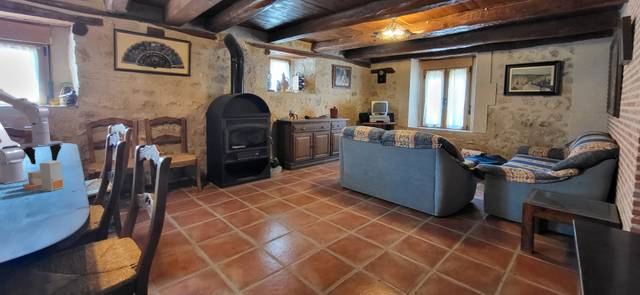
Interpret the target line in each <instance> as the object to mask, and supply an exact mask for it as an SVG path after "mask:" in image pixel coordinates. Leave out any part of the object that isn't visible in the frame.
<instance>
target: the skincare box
mask: <svg viewBox="0 0 640 295" xmlns="http://www.w3.org/2000/svg"><path fill="white" fill-rule="evenodd" d="M39 171H40V173H41V183H42V189H41V190H42V192H53V191H56V190H60V189H63V188H64V186H65V185H64V177H63V175H64V174H63V166H62V160H57V161H52V160H49V161H43V162H40V163H39Z"/></svg>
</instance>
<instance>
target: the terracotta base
mask: <svg viewBox="0 0 640 295" xmlns="http://www.w3.org/2000/svg"><path fill="white" fill-rule="evenodd" d="M22 188H23V189H24V190H27V191H31V192H33V191H37V190H42V184H37V185H32V184H29V182H28V183H23V184H22Z"/></svg>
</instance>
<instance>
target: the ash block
mask: <svg viewBox="0 0 640 295" xmlns="http://www.w3.org/2000/svg"><path fill="white" fill-rule="evenodd" d="M27 179H28V180H27V181H28V183H29V184H32V185H37V184H42V183H41V173H40V170H35V171H34V170H33V171H28V172H27Z"/></svg>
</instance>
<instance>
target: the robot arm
mask: <svg viewBox="0 0 640 295" xmlns="http://www.w3.org/2000/svg"><path fill="white" fill-rule="evenodd" d="M0 102H3V103H5V104H8V105H11V106H12V108H13V109H14V110H15V111H18V112H21V113H22V114H24V115H26V117H27V119H28V122H29V123H30V124H31V125H30V127H31V134H32V135H31V136H32V142H29V143H28V142H27V143H18V142H16V141H14V140H12V139H11V137H10V136H9V134H8V132H7V131H6V129H5V128H4V125H2V123H1V122H0V183H1V184H4V185H8V184H14V183H21V182H26V181H29V180H28V178H25V175H24V165H23V162H24V161H25V159H26V157H28V160H29V161H30V164H31V165H36V164H37V162H36V149H35V148H43V147H49V150H50V153H51V161H58V160H57V159H58V156H59V153H60V151H61V149H62V146H64V145H63V141H62V140H53V141H51V137H50V128H49V127H50V125H49V118H50V117H51V115H52V112H51V109H50V108H49V107H48V106H46V105H39V104H38V103H37V102H32V101H30V100H29V99H28V98H26V97H19V98H17V97H15V96H13V95H12V94H10V93H8V92H6V91H5V90H4V89H3V88H0Z"/></svg>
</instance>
